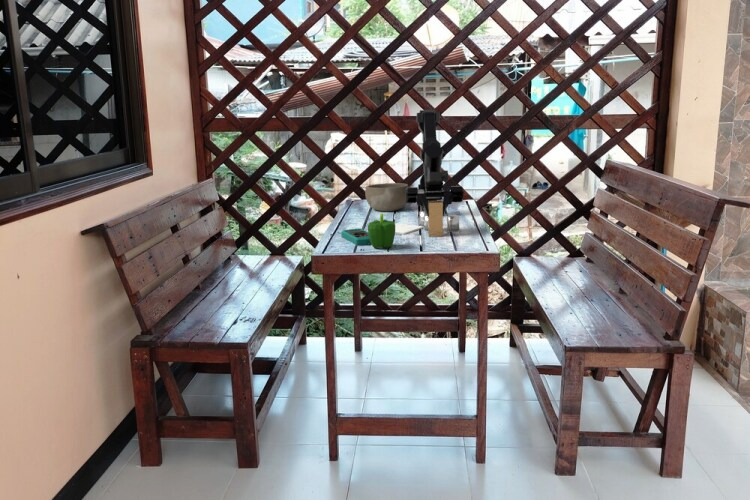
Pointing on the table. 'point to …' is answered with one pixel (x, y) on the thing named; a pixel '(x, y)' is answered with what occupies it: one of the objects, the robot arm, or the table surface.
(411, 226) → the white mat
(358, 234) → the digital multimeter
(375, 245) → the bell pepper
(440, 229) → the tan tall block
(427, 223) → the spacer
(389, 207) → the bowl
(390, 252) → the table surface
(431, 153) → the robot arm
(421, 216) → the cylinder
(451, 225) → the cylinder
